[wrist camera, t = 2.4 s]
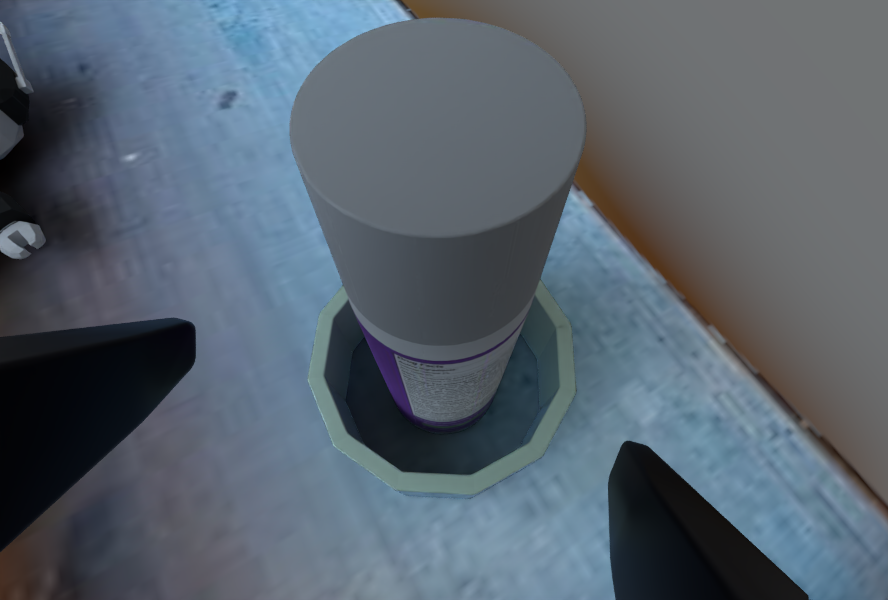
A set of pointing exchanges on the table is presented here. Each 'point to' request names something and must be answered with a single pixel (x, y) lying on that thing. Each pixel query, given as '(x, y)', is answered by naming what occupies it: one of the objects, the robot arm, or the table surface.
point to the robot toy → (3, 114)
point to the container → (439, 197)
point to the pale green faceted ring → (329, 387)
